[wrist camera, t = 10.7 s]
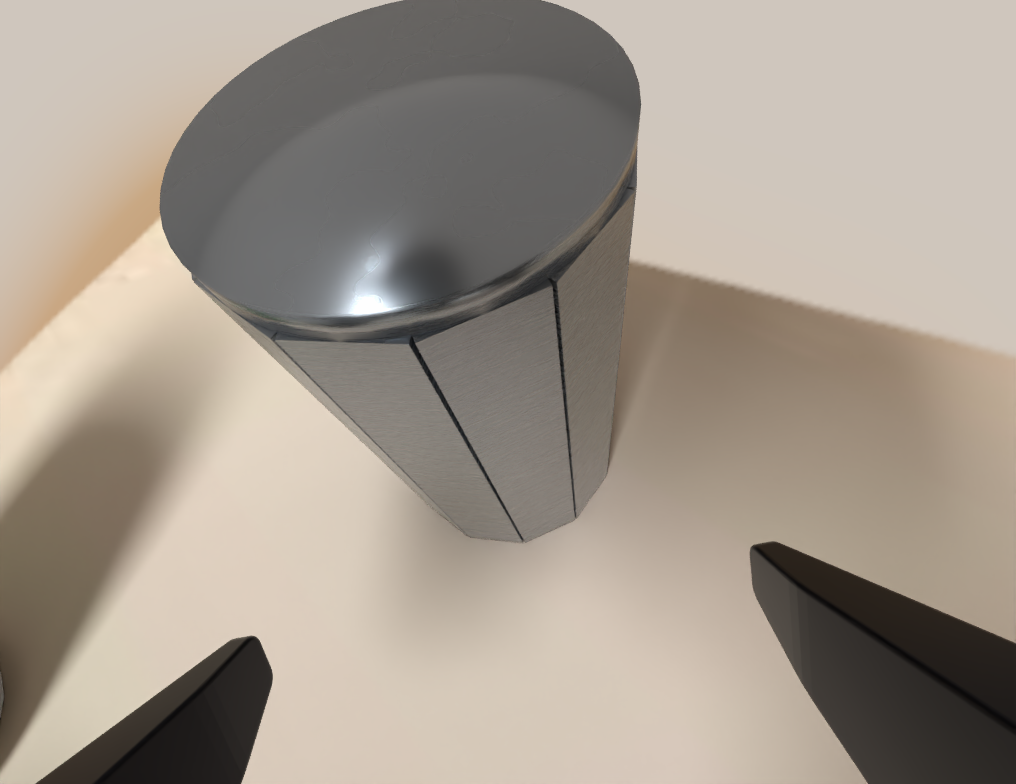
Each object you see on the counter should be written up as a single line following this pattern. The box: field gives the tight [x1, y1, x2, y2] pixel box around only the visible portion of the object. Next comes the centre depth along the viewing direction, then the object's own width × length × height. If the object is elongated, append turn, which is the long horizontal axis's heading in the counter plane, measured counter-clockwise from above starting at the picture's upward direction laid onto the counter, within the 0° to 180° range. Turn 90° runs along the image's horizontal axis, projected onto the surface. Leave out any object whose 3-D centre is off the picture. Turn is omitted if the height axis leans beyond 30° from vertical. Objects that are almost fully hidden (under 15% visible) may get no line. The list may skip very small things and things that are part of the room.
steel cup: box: [160, 0, 641, 543], centre depth 13 cm, size 7×7×13 cm
